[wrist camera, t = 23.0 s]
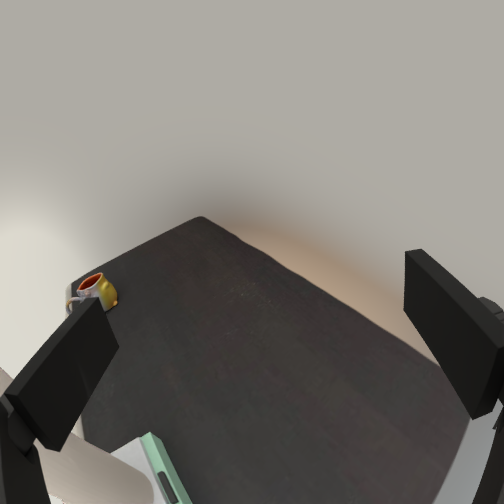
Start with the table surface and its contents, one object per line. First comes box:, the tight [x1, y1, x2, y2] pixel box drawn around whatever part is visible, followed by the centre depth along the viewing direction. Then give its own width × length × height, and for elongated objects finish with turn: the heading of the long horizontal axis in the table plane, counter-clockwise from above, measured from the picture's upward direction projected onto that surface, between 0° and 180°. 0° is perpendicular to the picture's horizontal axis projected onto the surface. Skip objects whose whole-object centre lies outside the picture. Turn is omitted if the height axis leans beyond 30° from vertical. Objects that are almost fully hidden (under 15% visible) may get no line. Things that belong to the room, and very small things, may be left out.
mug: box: [66, 273, 118, 315], centre depth 61 cm, size 12×7×7 cm, turn 116°
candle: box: [0, 367, 154, 504], centre depth 18 cm, size 7×14×20 cm, turn 109°
